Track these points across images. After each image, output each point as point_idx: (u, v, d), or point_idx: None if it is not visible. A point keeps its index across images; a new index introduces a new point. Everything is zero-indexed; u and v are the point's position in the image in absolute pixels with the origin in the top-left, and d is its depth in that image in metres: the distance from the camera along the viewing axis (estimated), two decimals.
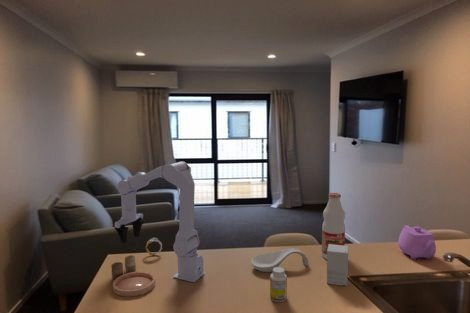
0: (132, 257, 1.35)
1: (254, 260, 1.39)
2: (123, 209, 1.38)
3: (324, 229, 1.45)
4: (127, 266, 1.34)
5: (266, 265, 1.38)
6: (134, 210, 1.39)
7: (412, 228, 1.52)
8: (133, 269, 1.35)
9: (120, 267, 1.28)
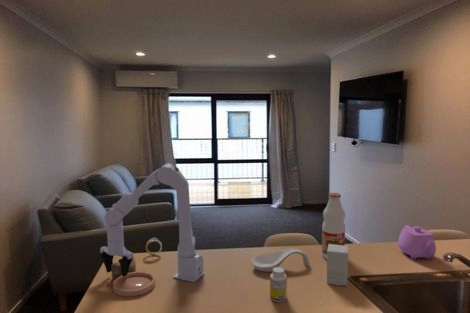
0: None
1: (255, 260, 1.39)
2: None
3: (324, 229, 1.45)
4: None
5: (267, 265, 1.38)
6: (110, 243, 1.25)
7: (412, 228, 1.52)
8: (133, 269, 1.35)
9: (120, 267, 1.28)
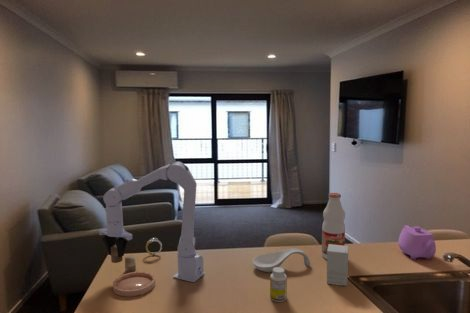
0: (132, 257, 1.35)
1: (255, 260, 1.39)
2: None
3: (324, 229, 1.45)
4: (127, 266, 1.34)
5: (267, 265, 1.38)
6: (109, 224, 1.24)
7: (412, 228, 1.52)
8: (133, 269, 1.35)
9: None
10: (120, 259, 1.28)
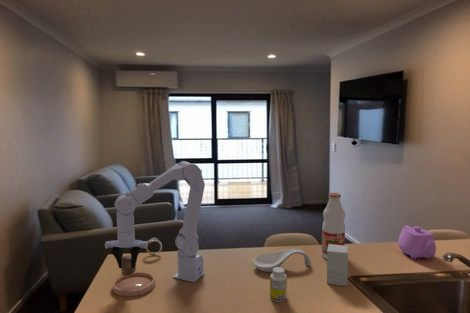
0: None
1: (256, 260, 1.39)
2: None
3: (324, 229, 1.45)
4: None
5: (268, 265, 1.38)
6: (123, 234, 1.15)
7: (412, 228, 1.52)
8: None
9: None
10: (133, 270, 1.20)
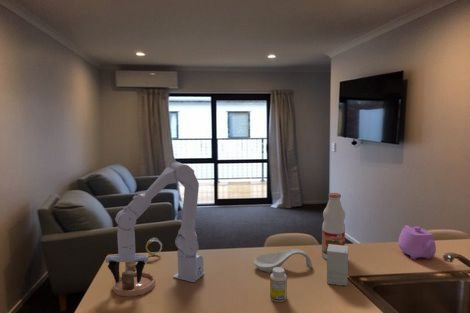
0: None
1: (257, 259, 1.40)
2: None
3: (324, 229, 1.45)
4: (128, 266, 1.34)
5: (269, 265, 1.38)
6: (123, 249, 1.16)
7: (412, 228, 1.52)
8: (134, 269, 1.35)
9: (133, 275, 1.20)
10: (133, 285, 1.21)
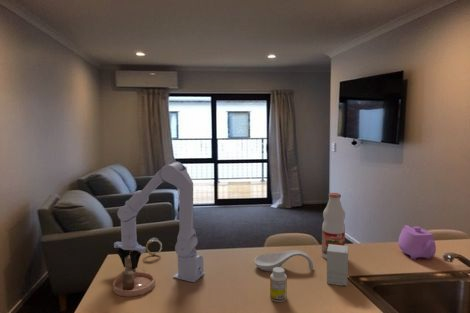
0: None
1: (258, 258, 1.41)
2: None
3: (324, 229, 1.45)
4: (128, 266, 1.34)
5: (269, 264, 1.39)
6: (123, 238, 1.32)
7: (412, 228, 1.52)
8: None
9: (133, 275, 1.20)
10: (133, 285, 1.21)
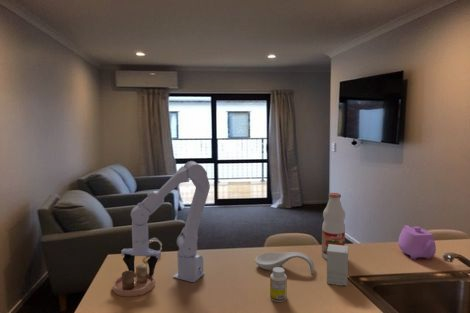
0: (144, 265, 1.26)
1: (261, 256, 1.42)
2: None
3: (324, 229, 1.45)
4: (142, 276, 1.24)
5: (271, 264, 1.40)
6: (136, 244, 1.21)
7: (412, 228, 1.52)
8: (147, 278, 1.26)
9: (133, 275, 1.20)
10: (133, 285, 1.21)
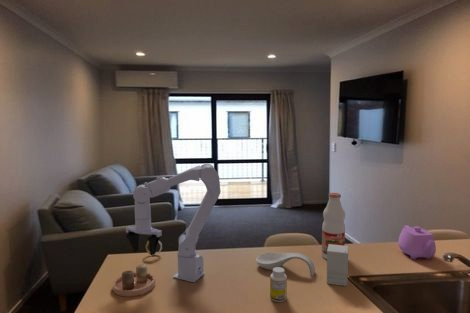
0: (144, 265, 1.26)
1: (263, 256, 1.43)
2: None
3: (324, 229, 1.45)
4: (142, 276, 1.24)
5: None
6: (138, 221, 1.24)
7: (412, 228, 1.52)
8: (147, 278, 1.26)
9: (133, 275, 1.20)
10: (133, 285, 1.21)
